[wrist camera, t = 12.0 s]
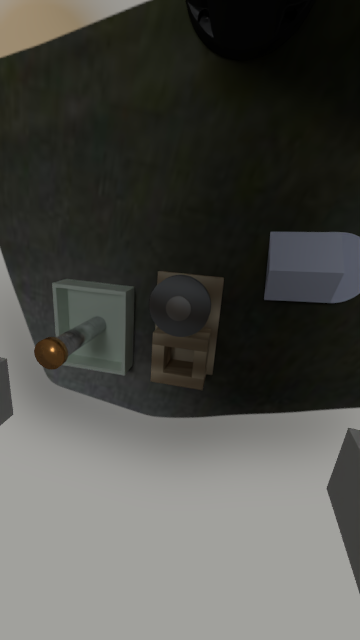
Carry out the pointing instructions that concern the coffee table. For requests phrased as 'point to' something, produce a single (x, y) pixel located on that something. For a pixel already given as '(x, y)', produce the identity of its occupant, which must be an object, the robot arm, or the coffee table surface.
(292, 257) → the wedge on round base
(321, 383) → the coffee table surface
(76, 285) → the tray
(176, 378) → the block
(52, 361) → the lock pin
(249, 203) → the coffee table surface
